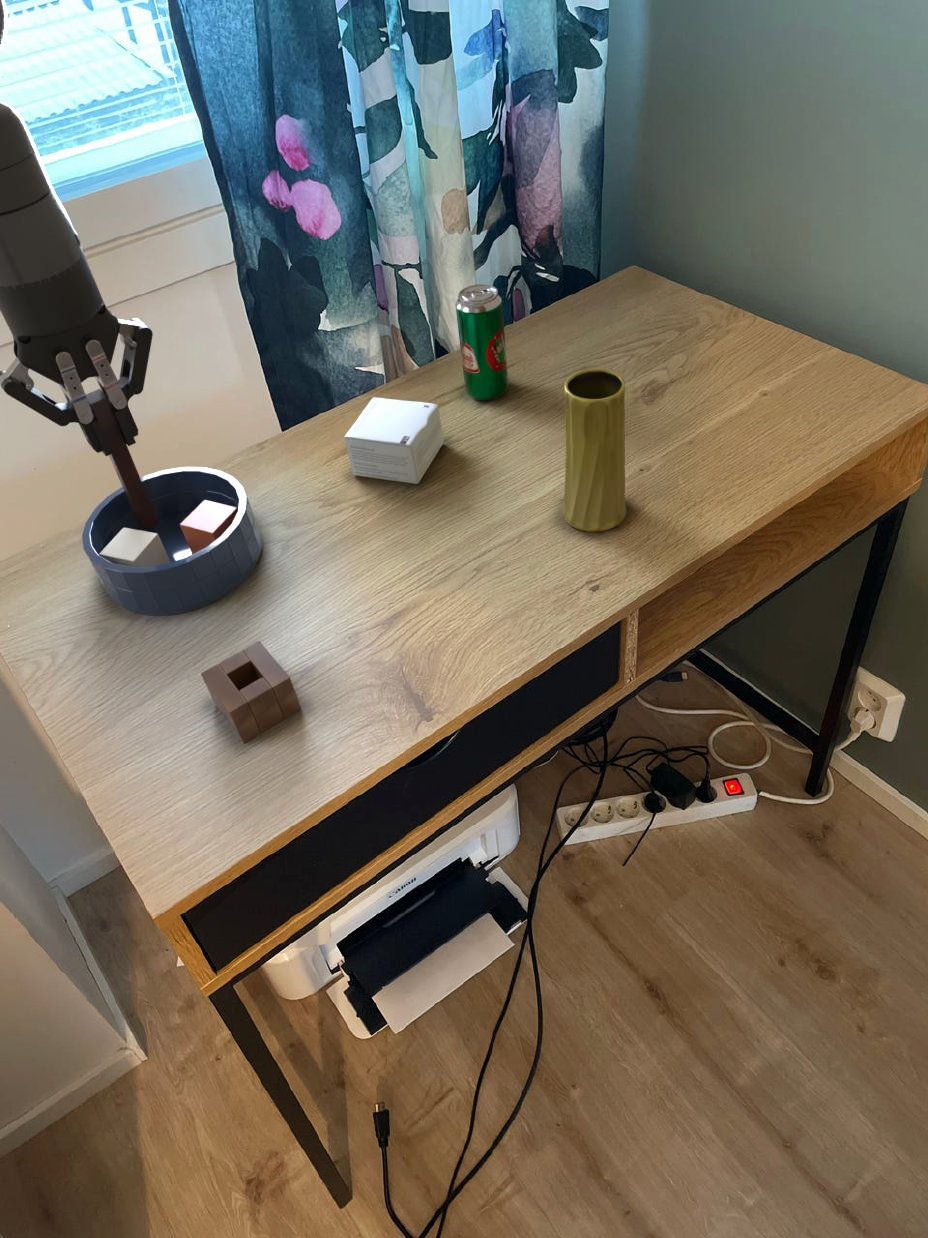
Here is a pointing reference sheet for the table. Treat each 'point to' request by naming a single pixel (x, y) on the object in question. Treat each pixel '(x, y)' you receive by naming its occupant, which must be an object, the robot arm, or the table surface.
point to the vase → (595, 450)
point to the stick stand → (251, 691)
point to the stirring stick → (122, 460)
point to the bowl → (176, 543)
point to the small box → (395, 440)
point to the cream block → (135, 549)
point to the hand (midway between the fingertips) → (117, 445)
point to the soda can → (482, 341)
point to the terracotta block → (207, 524)
